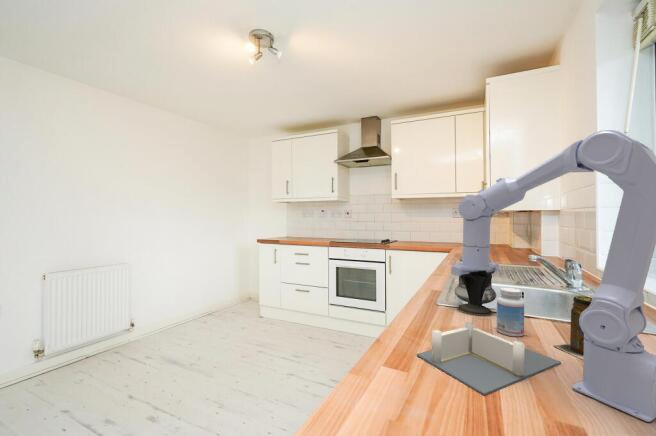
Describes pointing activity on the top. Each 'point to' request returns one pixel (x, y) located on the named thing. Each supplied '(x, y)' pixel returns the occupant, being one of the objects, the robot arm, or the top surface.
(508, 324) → the pill bottle
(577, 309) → the condiment
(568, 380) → the top surface
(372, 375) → the top surface
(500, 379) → the board
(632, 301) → the robot arm
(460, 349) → the fixed fence section
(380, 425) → the top surface
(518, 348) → the fence panel
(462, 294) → the apothecary jar
